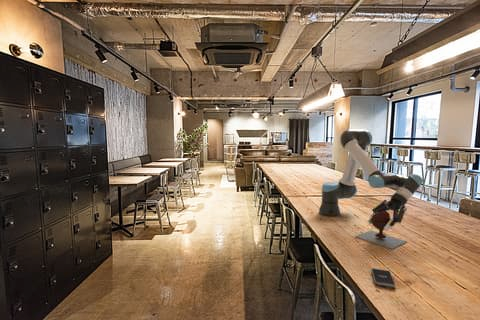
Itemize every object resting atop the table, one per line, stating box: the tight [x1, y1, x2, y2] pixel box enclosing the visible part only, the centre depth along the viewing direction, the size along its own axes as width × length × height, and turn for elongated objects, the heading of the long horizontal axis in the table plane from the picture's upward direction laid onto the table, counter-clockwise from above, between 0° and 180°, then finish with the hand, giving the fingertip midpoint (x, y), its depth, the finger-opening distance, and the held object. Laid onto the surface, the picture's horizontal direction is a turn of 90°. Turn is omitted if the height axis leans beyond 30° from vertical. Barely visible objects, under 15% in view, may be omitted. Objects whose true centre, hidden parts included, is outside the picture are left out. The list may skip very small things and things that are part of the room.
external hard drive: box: [371, 268, 396, 290], centre depth 103 cm, size 7×11×2 cm, turn 160°
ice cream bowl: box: [371, 210, 392, 238], centre depth 142 cm, size 11×11×15 cm
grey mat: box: [354, 229, 408, 251], centre depth 143 cm, size 20×17×1 cm
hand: (377, 226), depth 142 cm, fingers closed on ice cream bowl, 11 cm apart
